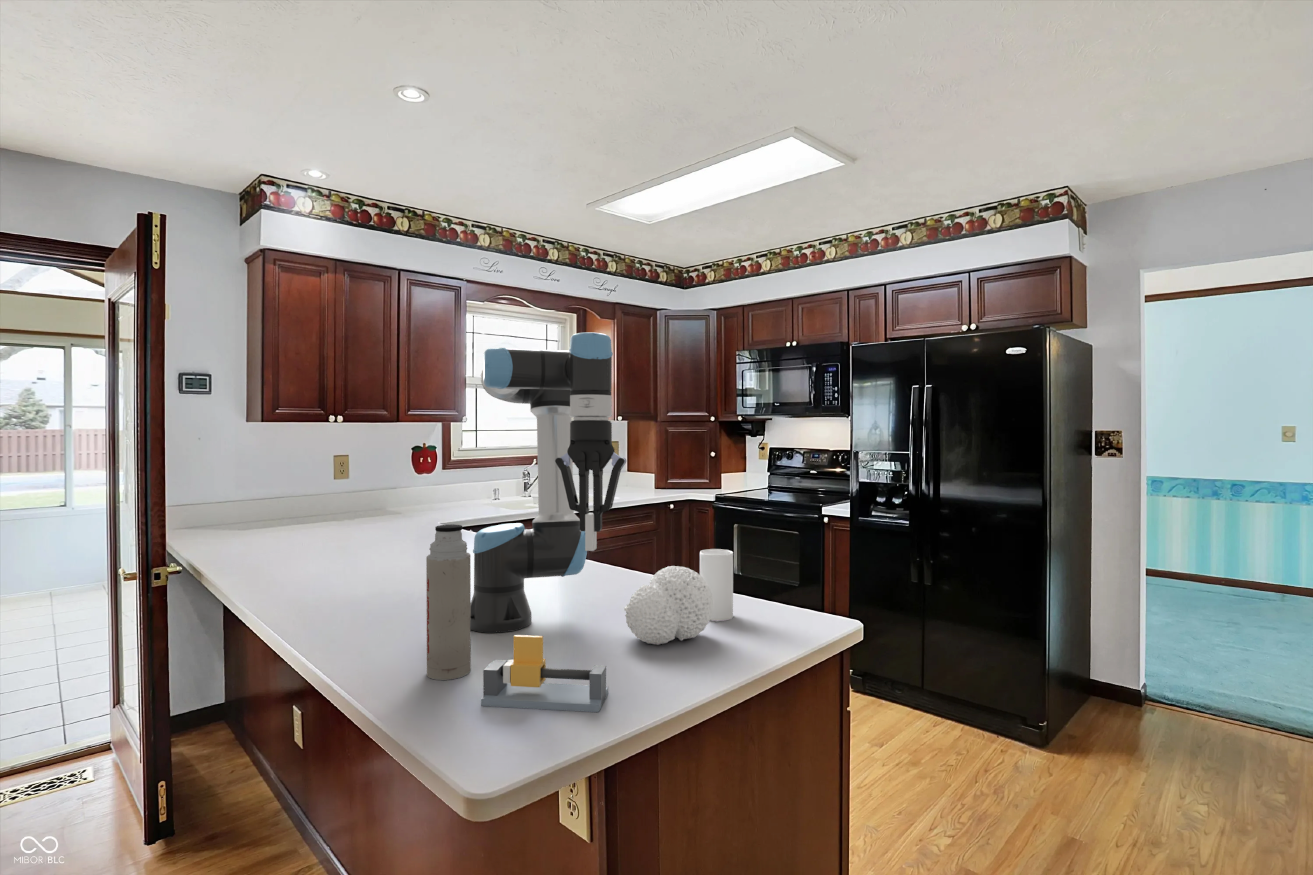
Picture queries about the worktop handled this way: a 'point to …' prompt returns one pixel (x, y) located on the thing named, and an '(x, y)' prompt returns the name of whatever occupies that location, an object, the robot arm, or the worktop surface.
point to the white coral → (670, 606)
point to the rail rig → (545, 689)
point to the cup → (719, 581)
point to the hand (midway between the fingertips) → (590, 549)
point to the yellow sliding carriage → (527, 661)
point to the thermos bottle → (448, 605)
